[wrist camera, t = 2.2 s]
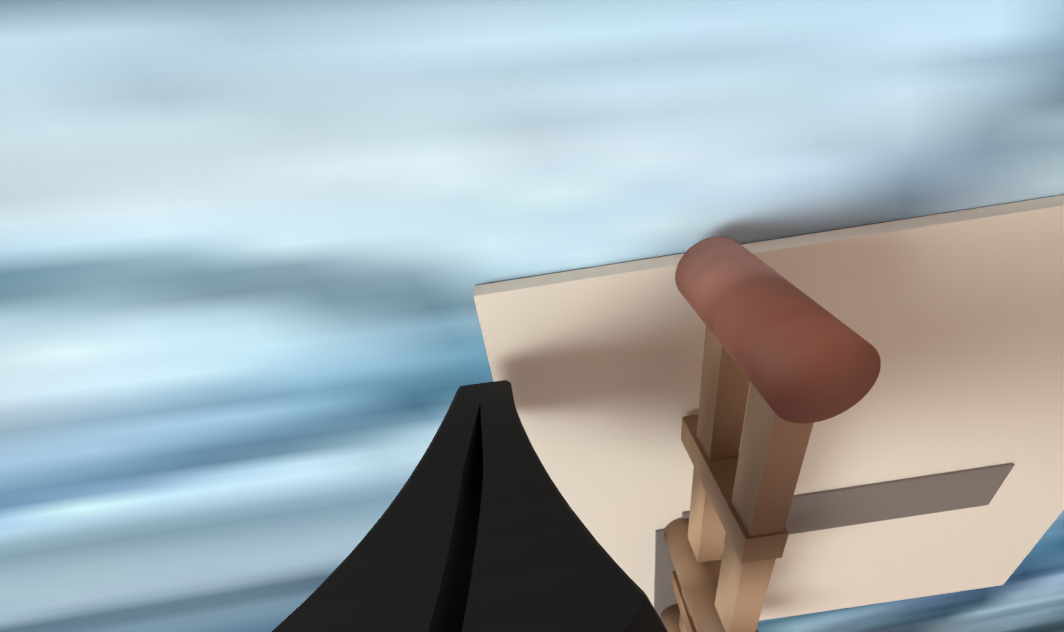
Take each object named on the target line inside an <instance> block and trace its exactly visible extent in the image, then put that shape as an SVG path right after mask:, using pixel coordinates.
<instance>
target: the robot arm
mask: <svg viewBox="0 0 1064 632" xmlns="http://www.w3.org/2000/svg"><path fill="white" fill-rule="evenodd" d="M272 632H668V631H667V629H666V627H665V626H664V624H663V622H662V620H661V619H660V617H659V615H658V614H657V612H656V610H655V609H654V607H653V605H652V604H651V602H650V600H649V598H648V597H647V595H646V594H645V593H644V591H643V590H642V589H641V588H640V587H639V586H638V585H637V584H636V583H635V582H634V581H633V580H632V579H631V578H630V577H629V576H628V575H627V574H626V573H625V572H624V571H623V570H622V568H621V567H620V566H619V565H618V564H617V563H616V562H615V561H614V560H613V559H612V557H611V556H610V555H609V554H608V553H607V552H606V551H605V549H604V548H603V547H602V546H601V545H600V544H599V543H598V541H597V540H596V539H595V538H594V536H593V535H592V534H591V533H590V531H589V530H588V529H587V528H586V526H585V525H584V524H583V523H582V521H581V520H580V519H579V517H578V516H577V515H576V514H575V512H574V511H573V510H572V508H571V507H570V506H569V504H568V503H567V501H566V500H565V499H564V497H563V496H562V494H561V493H560V491H559V490H558V488H557V487H556V485H555V484H554V482H553V481H552V479H551V478H550V476H549V474H548V473H547V471H546V469H545V468H544V466H543V464H542V463H541V461H540V459H539V457H538V455H537V454H536V452H535V450H534V448H533V446H532V444H531V442H530V440H529V438H528V436H527V434H526V432H525V429H524V427H523V425H522V423H521V420H520V418H519V415H518V413H517V410H516V407H515V402H514V397H513V391H512V386H511V383H510V382H509V381H507V380H502V381H495V382H488V383H481V384H473V385H466V386H460V388H459V389H458V390H457V392H456V394H455V397H454V399H453V401H452V403H451V405H450V407H449V410H448V412H447V414H446V416H445V418H444V420H443V421H442V423H441V425H440V427H439V429H438V431H437V433H436V434H435V436H434V438H433V440H432V442H431V443H430V445H429V447H428V449H427V451H426V452H425V454H424V455H423V457H422V459H421V460H420V462H419V463H418V465H417V467H416V468H415V470H414V471H413V473H412V474H411V476H410V478H409V479H408V481H407V482H406V484H405V485H404V486H403V488H402V489H401V491H400V492H399V494H398V495H397V496H396V498H395V499H394V501H393V502H392V503H391V505H390V506H389V507H388V509H387V510H386V511H385V513H384V514H383V515H382V516H381V518H380V519H379V520H378V521H377V523H376V524H375V525H374V526H373V527H372V529H371V530H370V531H369V532H368V534H367V535H366V536H365V537H364V538H363V540H362V541H361V542H360V543H359V544H358V545H357V547H356V548H355V549H354V550H353V551H352V552H351V553H350V555H349V556H348V557H347V558H346V559H345V560H344V561H343V562H342V563H341V564H340V565H339V566H338V567H337V568H336V569H335V570H334V572H333V573H332V574H331V575H330V576H329V577H328V578H327V579H326V580H325V581H324V582H323V583H322V584H321V585H320V586H319V587H318V588H317V589H316V591H315V592H314V593H313V594H312V595H311V596H310V597H309V598H308V599H307V600H306V601H305V602H304V603H302V604H301V605H300V606H299V607H298V608H297V609H296V610H295V611H294V612H293V613H292V614H291V615H289V616H288V617H287V618H286V619H285V620H284V621H283V622H282V623H281V624H280V625H279V626H278V627H276V628H275V629H274V630H273V631H272Z"/></svg>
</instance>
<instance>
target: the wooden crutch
mask: <svg viewBox="0 0 1064 632" xmlns="http://www.w3.org/2000/svg"><path fill="white" fill-rule="evenodd" d="M675 281H676V285H677V288H678V290H679V291H680V293H681V294H682V295H683V296H684V298H685V299H686V300H687V302H688V303H689V304H690V305H691V307H692V308H693V309H694V310H695V312H696V313H697V314H698V316H699V317H700V318H701V319H702V321H703V322H704V323H705V324H706V331H705V342H704V354H703V365H702V377H701V389H700V400H699V412H698V415H691V416H684V417H682V430H681V441H682V443H683V445H684V447H685V449H686V451H687V453H688V455H689V457H690V459H691V461H692V463H693V465H694V469H693V481H692V492H691V504H690V516H689V527H688V540H689V542H690V545H691V547H692V550H693V552H694V555H695V557H696V560H697V562H698V563H700V562H707V561H714V560H720V559H722V562H721V568H720V574H719V580H718V586H717V592H716V598H715V607H716V610H717V612H718V615H719V617H720V620H721V622H722V625H723V627H724V630H725V632H756V629H757V625H758V621H759V618H760V614H761V611H762V607H763V603H764V600H765V596H766V593H767V589H768V585H769V582H770V578H771V575H772V571H773V567H774V564H775V560H776V558H782V555H783V552H784V548H785V545H786V542H787V538H788V535H789V533H788V531H787V529H786V528H785V524H786V521H787V517H788V513H789V510H790V506H791V503H792V499H793V496H794V492H795V488H796V485H797V481H798V478H799V474H800V470H801V467H802V463H803V460H804V456H805V452H806V449H807V445H808V442H809V438H810V434H811V431H812V427H813V424H814V422H819V421H823V420H827V419H829V418H832V417H835V416H837V415H839V414H841V413H843V412H845V411H846V410H848V409H850V408H851V407H853V406H854V405H855V404H856V403H858V402H859V401H860V400H861V399H862V398H863V397H864V396H865V395H866V394H867V393H868V392H869V391H870V389H871V388H872V387H873V385H874V384H875V382H876V380H877V378H878V376H879V372H880V367H881V360H880V356H879V353H878V351H877V350H876V349H875V347H874V346H873V345H871V344H870V343H869V342H867V341H866V340H865V339H863V338H862V337H861V336H860V335H858V334H857V333H856V332H854V331H853V330H852V329H850V328H849V327H848V326H846V325H845V324H844V323H843V322H841V321H840V320H839V319H837V318H836V317H835V316H833V315H832V314H831V313H829V312H828V311H827V310H826V309H824V308H823V307H822V306H820V305H819V304H818V303H816V302H815V301H814V300H812V299H811V298H810V297H809V296H807V295H806V294H805V293H803V292H802V291H801V290H799V289H798V288H797V287H795V286H794V285H793V284H792V283H790V282H789V281H788V280H786V279H785V278H784V277H782V276H781V275H780V274H778V273H777V272H776V271H775V270H773V269H772V268H771V267H769V266H768V265H767V264H765V263H764V262H763V261H761V260H760V259H759V258H758V257H756V256H755V255H754V254H752V253H751V252H750V251H748V250H747V249H746V248H744V247H743V246H742V245H741V244H739V243H738V242H737V241H735V240H733V239H731V238H728V237H719V236H718V237H711V238H707V239H704V240H702V241H700V242H698V243H696V244H695V245H693V246H692V247H691V248H690V249H689V250H687V252H686V253H685V254H684V255H683V256H682V258H681V259H680V261H679V263H678V266H677V269H676V274H675ZM750 382H751V385H750ZM749 387H750V391H749ZM748 393H749V397H748ZM747 399H748V403H747ZM746 405H747V409H746ZM745 411H746V415H745ZM744 417H745V421H744ZM743 424H744V427H743ZM742 430H743V433H742ZM741 436H742V440H741ZM740 442H741V446H740ZM739 448H740V452H739ZM725 534H726V537H725ZM724 540H725V543H724ZM723 547H724V550H723ZM722 553H723V556H722Z"/></svg>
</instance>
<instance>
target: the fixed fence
mask: <svg viewBox="0 0 1064 632" xmlns="http://www.w3.org/2000/svg"><path fill="white" fill-rule="evenodd" d="M688 527H689V518H686V519H682V517H680V518H677V519H675V520H673V521H672V522H670V523H669V524H668V525H667V526H666V527H665V533H664V539H665V542H666V545H667V548H668V551H669V553H670V556H671V559H672V562H673V565H674V568H675V571H672V578H671V585H672V588H673V591H674V594H675V597H676V600H677V603H678V604H674V605H671V606H669V607H667V608H666V609H665V610H663V612H662V613H661V619H662V622H663V624H664V626H665V627H666V629H667V631H668V632H725V630H724V627H723V625H722V622H721V620H720V617H719V615H718V612H717V610H716V607H715V598H716V592H717V586H718V580H719V574H720V568H721V562H722V559H720V560H714V561H707V562H700V563H698V562H697V560H696V557H695V555H694V552H693V550H692V547H691V545H690V542H689V540H688ZM722 556H723V554H722ZM756 632H758V630H757V629H756Z"/></svg>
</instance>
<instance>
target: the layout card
mask: <svg viewBox="0 0 1064 632" xmlns="http://www.w3.org/2000/svg"><path fill="white" fill-rule="evenodd" d="M741 245H742V246H743V247H744V248H746V249H747V250H748V251H750V252H751V253H752V254H754V255H755V256H756V257H758V258H759V259H760V260H761V261H763V262H764V263H765V264H767V265H768V266H769V267H771V268H772V269H773V270H775V271H776V272H777V273H778V274H780V275H781V276H782V277H784V278H785V279H786V280H788V281H789V282H790V283H792V284H793V285H794V286H795V287H797V288H798V289H799V290H801V291H802V292H803V293H805V294H806V295H807V296H809V297H810V298H811V299H812V300H814V301H815V302H816V303H818V304H819V305H820V306H822V307H823V308H824V309H826V310H827V311H828V312H829V313H831V314H832V315H833V316H835V317H836V318H837V319H839V320H840V321H841V322H843V323H844V324H845V325H846V326H848V327H849V328H850V329H852V330H853V331H854V332H856V333H857V334H858V335H860V336H861V337H862V338H863V339H865V340H866V341H867V342H869V343H870V344H871V345H873V346H874V347H875V349H876V350H877V351H878V353H879V356H880V360H881V367H880V372H879V376H878V378H877V380H876V382H875V384H874V385H873V387H872V388H871V389H870V391H869V392H868V393H867V394H866V395H865V396H864V397H863V398H862V399H861V400H860V401H859V402H858V403H856V404H855V405H854V406H853V407H851V408H850V409H848V410H846V411H845V412H843V413H841V414H839V415H837V416H835V417H832V418H829V419H827V420H823V421H819V422H814V424H813V427H812V431H811V434H810V438H809V442H808V445H807V449H806V452H805V456H804V460H803V463H802V467H801V470H800V474H799V478H798V481H797V485H796V488H795V492H794V496H793V499H792V503H791V506H790V510H789V513H788V517H787V521H786V524H785V528H786V529H787V531H788V533H789V535H788V538H787V542H786V545H785V548H784V552H783V555H782V558H776V560H775V564H774V567H773V571H772V575H771V578H770V582H769V585H768V589H767V593H766V596H765V600H764V603H763V607H762V611H761V614H760V618H759V621H760V620H767V619H774V618H781V617H788V616H794V615H801V614H808V613H815V612H822V611H828V610H835V609H842V608H849V607H856V606H863V605H869V604H876V603H883V602H890V601H897V600H903V599H910V598H917V597H924V596H931V595H937V594H944V593H951V592H958V591H965V590H972V589H978V588H985V587H992V586H999V585H1003V584H1004V583H1005V582H1006V581H1007V579H1008V578H1009V577H1010V576H1011V574H1012V573H1013V572H1014V571H1015V569H1016V568H1017V567H1018V566H1019V564H1020V563H1021V562H1022V561H1023V560H1024V558H1025V557H1026V556H1027V555H1028V553H1029V552H1030V551H1031V550H1032V548H1033V547H1034V546H1035V545H1036V543H1037V542H1038V541H1039V540H1040V538H1041V537H1042V536H1043V535H1044V533H1045V532H1046V531H1047V530H1048V528H1049V527H1050V526H1051V525H1052V524H1053V522H1054V521H1055V520H1056V519H1057V517H1058V516H1059V515H1060V514H1061V512H1062V511H1063V510H1064V195H1059V196H1053V197H1046V198H1040V199H1033V200H1027V201H1020V202H1014V203H1007V204H1001V205H994V206H988V207H981V208H975V209H968V210H962V211H955V212H949V213H942V214H936V215H929V216H923V217H917V218H910V219H904V220H897V221H891V222H884V223H878V224H871V225H865V226H858V227H852V228H845V229H839V230H832V231H826V232H819V233H813V234H806V235H800V236H793V237H787V238H780V239H774V240H767V241H761V242H754V243H748V244H741ZM684 254H685V253H683V254H676V255H670V256H663V257H657V258H650V259H644V260H637V261H631V262H624V263H618V264H611V265H605V266H598V267H592V268H585V269H579V270H572V271H566V272H559V273H553V274H546V275H540V276H533V277H527V278H520V279H514V280H507V281H501V282H495V283H488V284H482V285H475V287H474V300H475V304H476V309H477V313H478V317H479V321H480V326H481V330H482V334H483V338H484V343H485V347H486V351H487V356H488V360H489V364H490V368H491V373H492V377H493V381H494V382H495V381H502V380H507V381H509V382H510V383H511V386H512V391H513V397H514V402H515V407H516V410H517V413H518V415H519V418H520V420H521V423H522V425H523V427H524V429H525V432H526V434H527V436H528V438H529V440H530V442H531V444H532V446H533V448H534V450H535V452H536V454H537V455H538V457H539V459H540V461H541V463H542V464H543V466H544V468H545V469H546V471H547V473H548V474H549V476H550V478H551V479H552V481H553V482H554V484H555V485H556V487H557V488H558V490H559V491H560V493H561V494H562V496H563V497H564V499H565V500H566V501H567V503H568V504H569V506H570V507H571V508H572V510H573V511H574V512H575V514H576V515H577V516H578V517H579V519H580V520H581V521H582V523H583V524H584V525H585V526H586V528H587V529H588V530H589V531H590V533H591V534H592V535H593V536H594V538H595V539H596V540H597V541H598V543H599V544H600V545H601V546H602V547H603V548H604V549H605V551H606V552H607V553H608V554H609V555H610V556H611V557H612V559H613V560H614V561H615V562H616V563H617V564H618V565H619V566H620V567H621V568H622V570H623V571H624V572H625V573H626V574H627V575H628V576H629V577H630V578H631V579H632V580H633V581H634V582H635V583H636V584H637V585H638V586H639V587H640V588H641V589H642V590H643V591H644V593H645V594H646V595H647V597H648V598H649V600H650V602H651V604H652V605H653V607H654V609H655V610H656V612H657V614H658V615H659V617H660V619H661V613H662V612H663V610H665V609H666V608H667V607H669V606H671V605H674V604H678V603H677V600H676V597H675V594H674V591H673V588H672V585H671V578H672V571H675V568H674V565H673V562H672V559H671V556H670V553H669V551H668V548H667V545H666V542H665V539H664V533H665V527H666V526H667V525H668V524H669V523H670V522H672V521H673V520H675V519H677V518H680V517H682V519H686V518H689V516H690V504H691V492H692V481H693V469H694V465H693V463H692V461H691V459H690V457H689V455H688V453H687V451H686V449H685V447H684V445H683V443H682V441H681V430H682V417H684V416H691V415H698V412H699V400H700V389H701V377H702V365H703V354H704V342H705V331H706V324H705V323H704V322H703V321H702V319H701V318H700V317H699V316H698V314H697V313H696V312H695V310H694V309H693V308H692V307H691V305H690V304H689V303H688V302H687V300H686V299H685V298H684V296H683V295H682V294H681V293H680V291H679V290H678V288H677V285H676V281H675V274H676V269H677V266H678V263H679V261H680V259H681V258H682V256H683V255H684ZM750 385H751V382H750ZM749 391H750V387H749ZM748 397H749V393H748ZM747 403H748V399H747ZM746 409H747V405H746ZM745 415H746V411H745ZM744 421H745V417H744ZM743 427H744V424H743ZM742 433H743V430H742ZM741 440H742V436H741ZM740 446H741V442H740ZM739 452H740V448H739ZM725 537H726V534H725ZM724 543H725V540H724ZM723 550H724V547H723ZM722 554H723V553H722ZM661 620H662V619H661Z"/></svg>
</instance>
